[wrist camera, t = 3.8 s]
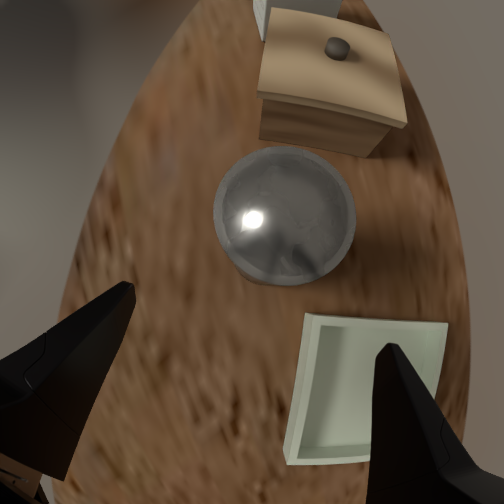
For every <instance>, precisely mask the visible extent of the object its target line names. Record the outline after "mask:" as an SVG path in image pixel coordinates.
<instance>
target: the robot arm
mask: <svg viewBox="0 0 504 504" xmlns="http://www.w3.org/2000/svg"><path fill="white" fill-rule="evenodd" d="M135 304H136V295H135V287H134V285H133V284H132V283H129V282H126V281H121V282H120V283H118V284H117V285H115V286H113V287H112V288H110V289H109V290H107V291H106V292H104V293H103V294H101V295H100V296H98V297H96V298H95V299H93V300H92V301H90V302H89V303H87V304H86V305H84V306H83V307H81V308H80V309H78V310H77V311H75V312H74V313H72V314H71V315H69V316H68V317H66V318H65V319H64V320H62V321H61V322H59V323H58V324H56V325H55V326H53V327H52V328H50V329H49V330H48V331H47V332H45V333H43V334H42V335H40V336H39V337H37V338H36V339H35V340H33V341H31V342H30V343H28V344H27V345H25V346H24V347H22V348H20V349H19V350H17V351H15V352H13V353H12V354H10V355H8V356H7V357H5V358H3V359H1V360H0V504H49V502H48V500H47V498H46V496H45V493H44V491H43V489H42V487H41V484H40V479H41V477H42V474H45V475H48V476H50V477H53V478H55V479H58V480H61V481H64V479H65V477H66V474H67V471H68V468H69V465H70V463H71V460H72V457H73V455H74V452H75V449H76V447H77V444H78V441H79V439H80V436H81V433H82V431H83V428H84V426H85V424H86V421H87V419H88V416H89V414H90V412H91V409H92V407H93V404H94V402H95V400H96V398H97V395H98V393H99V391H100V388H101V386H102V384H103V382H104V380H105V377H106V375H107V373H108V371H109V369H110V366H111V364H112V362H113V360H114V358H115V356H116V354H117V352H118V350H119V348H120V345H121V343H122V341H123V338H124V335H125V332H126V329H127V327H128V324H129V321H130V318H131V316H132V313H133V310H134V308H135ZM366 504H504V479H503V478H501V477H498V476H496V475H493V474H491V473H488V472H486V471H484V470H482V469H480V468H479V467H478V466H477V465H476V464H475V463H474V461H473V460H472V458H471V457H470V455H469V454H468V452H467V451H466V449H465V448H464V447H463V445H462V444H461V442H460V441H459V439H458V438H457V436H456V435H455V433H454V432H453V430H452V428H451V427H450V425H449V423H448V422H447V420H446V418H445V417H444V415H443V413H442V412H441V410H440V408H439V407H438V405H437V403H436V402H435V400H434V399H433V397H432V395H431V394H430V392H429V390H428V389H427V387H426V386H425V384H424V383H423V381H422V379H421V378H420V376H419V375H418V373H417V372H416V370H415V369H414V367H413V366H412V364H411V362H410V361H409V359H408V358H407V356H406V355H405V353H404V352H403V350H402V349H401V347H400V346H399V345H398V344H396V343H387V344H386V345H385V346H384V347H383V348H382V349H381V351H380V352H379V353H378V354H377V356H376V358H375V368H374V380H373V390H372V424H371V449H370V465H369V478H368V488H367V496H366Z"/></svg>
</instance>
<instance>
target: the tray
mask: <svg viewBox="0 0 504 504" xmlns="http://www.w3.org/2000/svg"><path fill="white" fill-rule="evenodd" d="M447 329H448V323H443V322H433V321H413V320H393V319H376V318H361V317H348V316H336V315H324V314H314V313H305V317H304V325H303V332H302V340H301V347H300V354H299V360H298V367H297V373H296V379H295V385H294V391H293V397H292V403H291V409H290V414H289V420H288V425H287V430H286V435H285V440H284V445H283V452H284V456H285V459H286V463H287V465H324V464H342V463H354V462H364V461H370V449H371V424H372V390H373V380H374V368H375V358H376V356H377V354H378V353H379V352H380V351H381V349H382V348H383V347H384V346H385V345H386V344H387V343H396V344H398V345H399V346H400V347H401V349H402V350H403V352H404V353H405V355H406V356H407V358H408V359H409V361H410V362H411V364H412V366H413V367H414V369H415V370H416V372H417V373H418V375H419V376H420V378H421V379H422V381H423V383H424V384H425V386H426V387H427V389H428V390H429V392H430V394H431V395H432V397H433V399H434V398H435V394H436V390H437V386H438V381H439V377H440V372H441V367H442V361H443V356H444V350H445V344H446V337H447Z"/></svg>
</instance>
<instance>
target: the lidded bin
mask: <svg viewBox="0 0 504 504" xmlns="http://www.w3.org/2000/svg"><path fill="white" fill-rule="evenodd" d="M257 98H260V99H263V106H262V115H261V124H260V133H259V139H262V140H269V141H276V142H283V143H290V144H296V145H302V146H308V147H313V148H319V149H324V150H329V151H335V152H339V153H344V154H349V155H354V156H358V157H363V158H366V157H367V156H368V155H369V154H370V153H371V152H372V150H373V149H374V148H375V147H376V146H377V145H378V143H379V142H380V141H381V140H382V139H383V138H384V137H385V135H386V134H387V133H388V132H389V131H390V130H391V129H392V127H393V126H394V127H398V128H401V129H403V128H404V126H405V125H406V124H407V117H406V110H405V104H404V98H403V93H402V88H401V82H400V78H399V73H398V68H397V64H396V60H395V56H394V52H393V48H392V44H391V40H390V37H389V34H387V33H384V32H381V31H378V30H375V29H372V28H369V27H365V26H362V25H358V24H355V23H351V22H348V21H344V20H340V19H336V18H331V17H327V16H322V15H317V14H312V13H307V12H301V11H295V10H289V9H282V8H274V7H272V8H271V13H270V19H269V24H268V30H267V36H266V41H265V47H264V53H263V59H262V65H261V71H260V77H259V83H258V89H257Z"/></svg>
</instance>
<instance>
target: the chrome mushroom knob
mask: <svg viewBox="0 0 504 504" xmlns="http://www.w3.org/2000/svg"><path fill="white" fill-rule="evenodd" d="M213 214H214V224H215V230H216V233H217V236H218V239H219V241H220V243H221V245H222V247H223V249H224V251H225V253H226V254H227V256H228V257H229V258H230V260H231V261H232V262H233V263H234V264H235V267H236V269H237V270H238V272H239V273H240V274H241V275H242V276H243V277H244V278H245V279H246V280H248V281H250V282H252V283H254V284H258V285H271V284H273V285H279V286H291V285H300V284H304V283H308V282H311V281H314V280H316V279H319V278H320V277H322V276H324V275H326V274H327V273H329V272H330V271H331V270H333V269H334V268H335V267H336V266H337V265H338V264H339V263H340V262H341V260H342V259H343V258H344V256H345V255H346V253H347V252H348V250H349V248H350V246H351V243H352V241H353V238H354V233H355V228H356V210H355V204H354V200H353V197H352V194H351V192H350V189H349V187H348V185H347V184H346V182H345V180H344V179H343V177H342V176H341V175H340V173H339V172H338V171H337V170H336V169H335V168H334V167H333V166H332V165H331V164H329V163H328V162H327V161H326V160H324V159H323V158H321V157H320V156H318V155H316V154H314V153H312V152H309V151H307V150H304V149H300V148H296V147H288V146H275V147H268V148H264V149H260V150H257V151H255V152H252V153H250V154H248V155H247V156H245V157H243V158H242V159H240V160H239V161H238V162H237V163H235V164H234V165H233V166H232V167H231V168H230V169H229V171H228V172H227V173H226V175H225V176H224V178H223V179H222V181H221V183H220V185H219V187H218V190H217V192H216V196H215V201H214V210H213Z"/></svg>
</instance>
